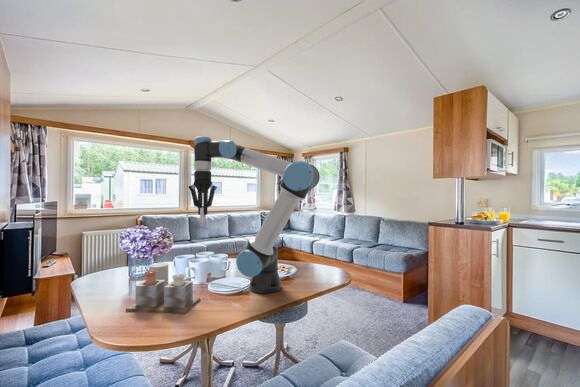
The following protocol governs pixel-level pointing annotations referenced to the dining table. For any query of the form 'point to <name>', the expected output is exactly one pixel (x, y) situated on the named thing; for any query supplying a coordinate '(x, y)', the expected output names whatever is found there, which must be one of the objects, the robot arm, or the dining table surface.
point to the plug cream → (178, 279)
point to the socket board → (164, 298)
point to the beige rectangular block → (160, 271)
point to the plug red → (151, 277)
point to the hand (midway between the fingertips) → (202, 221)
